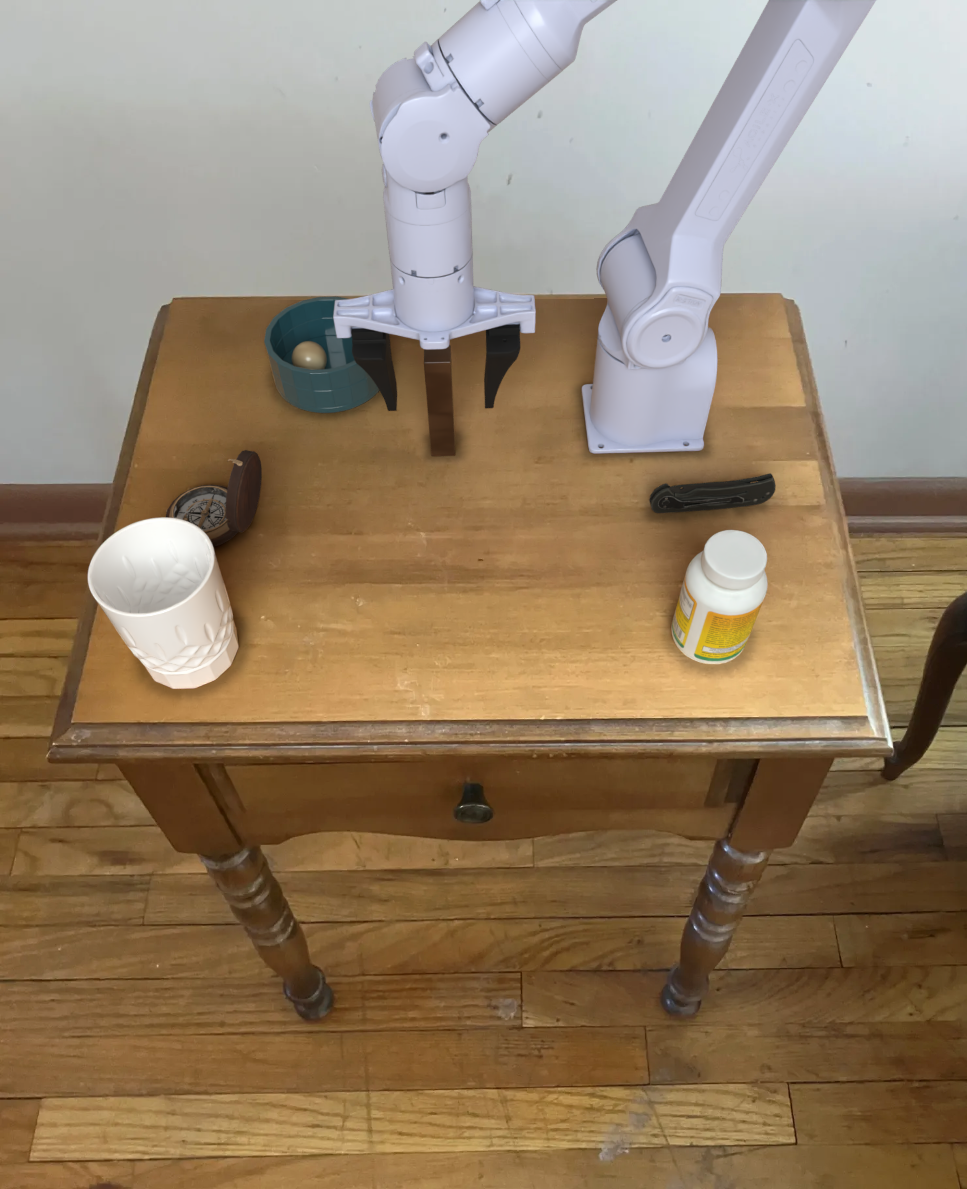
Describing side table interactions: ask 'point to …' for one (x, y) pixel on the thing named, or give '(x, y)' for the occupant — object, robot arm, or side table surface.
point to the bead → (309, 356)
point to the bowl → (318, 387)
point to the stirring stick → (440, 401)
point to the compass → (223, 501)
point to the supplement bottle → (720, 598)
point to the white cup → (167, 600)
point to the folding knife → (712, 495)
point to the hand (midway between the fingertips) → (440, 401)
